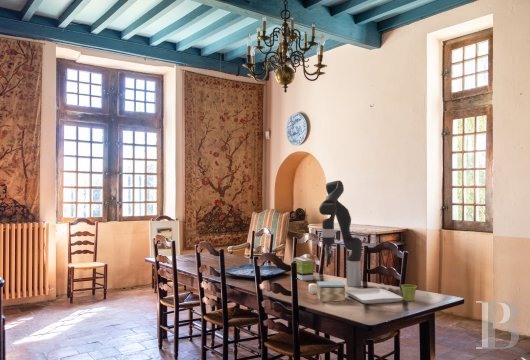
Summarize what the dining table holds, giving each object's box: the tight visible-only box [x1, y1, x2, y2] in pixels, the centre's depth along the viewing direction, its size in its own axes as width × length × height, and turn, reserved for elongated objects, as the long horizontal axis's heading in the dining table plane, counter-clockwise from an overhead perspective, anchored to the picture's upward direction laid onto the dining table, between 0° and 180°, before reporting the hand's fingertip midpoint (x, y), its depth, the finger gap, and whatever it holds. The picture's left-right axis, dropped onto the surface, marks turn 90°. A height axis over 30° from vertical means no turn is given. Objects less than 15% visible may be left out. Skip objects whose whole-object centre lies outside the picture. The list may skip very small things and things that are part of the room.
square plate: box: [345, 287, 404, 305], centre depth 283 cm, size 27×27×4 cm
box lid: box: [316, 281, 346, 287], centre depth 282 cm, size 15×13×1 cm
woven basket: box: [316, 283, 346, 303], centre depth 282 cm, size 15×13×8 cm
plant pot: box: [400, 283, 418, 302], centre depth 279 cm, size 9×9×9 cm
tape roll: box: [308, 283, 317, 295], centre depth 298 cm, size 6×6×6 cm
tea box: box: [292, 256, 314, 282], centre depth 346 cm, size 15×10×15 cm
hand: (328, 264), depth 284 cm, fingers closed
